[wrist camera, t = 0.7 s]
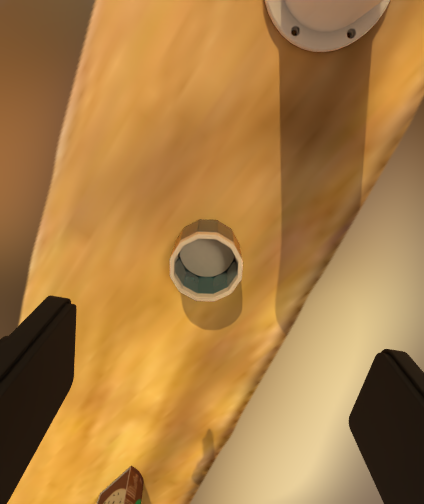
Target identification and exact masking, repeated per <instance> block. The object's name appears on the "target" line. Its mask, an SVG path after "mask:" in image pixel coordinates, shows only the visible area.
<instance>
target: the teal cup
mask: <svg viewBox="0 0 424 504" xmlns="http://www.w3.org/2000/svg"><path fill="white" fill-rule="evenodd" d="M179 255H180V256H179ZM242 269H243V259H242V255H241V250H240V246H239V242H238V240H237V238H236V237H235V235H234V233H233V231H232V229H231V228H229V227H227V226H226V225H224V224H222V223H221V222H219V221H218V220H201V219H200V220H197V221H195V222H193V223H192V224H190V225H188V226H186V227H184V228H183V230H182V232H181V233H180V235H179V236H178V238H177V240H176V242H175V245H174V248H173V251H172V254H171V257H170V278H171V279H172V281H173V282H174V284H175V286H176V287H177V289H178V290H179V292H181V293H182V294H184V295H186V296H188V297H190V298H191V299H193V300H196V301H217V300H219V299H221V298H223V297H225V296H227V295H230V294H231V293H232V292H233V290H234V289H235V288H236V286H237V285H238V284H239V282H240V281H241V279H242Z"/></svg>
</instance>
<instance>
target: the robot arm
mask: <svg viewBox="0 0 424 504" xmlns="http://www.w3.org/2000/svg"><path fill="white" fill-rule="evenodd" d="M264 1H265V4H266V7H267V11H268V14H269V16H270V18H271V20H272V22H273V24H274V26H275V27H276V28H277V29H278V31H279V32H280V33H281V35H282V36H283V37H285V38H286V39H287V40H288V41H289V42H290V43H292V44H294V45H296V46H297V47H299V48H301V49H305V50H308V51H312V52H328V51H334V50H338V49H340V48H343V47H345V46H348V45H349V44H351V43H353V42H355V41H356V40H358V39H359V38H360V37H362V36H363V35H364V34H366V33H367V32H368V31H369V30H370V29H371V28H372V27H373V26H374V25H375V24H376V23H377V21H378V20H379V19H380V17H381V16H382V14H383V13H384V11H385V10H386V8H387V6H388V4H389V2H390V0H264ZM292 31H295V32H296V35H295V36H293V35H292ZM347 33H349V34H350V38H348V37H347ZM75 333H76V305H75V304H71V301H70V299H68V298H62V297H56V296H48V297H47V298H46V299H45V300H44V301H43V302H42V303H41V304H40V305H39V306H38V307H37V308H36V309H35V310H34V311H33V312H32V313H31V314H30V315H29V316H28V317H27V318H26V319H25V320H24V321H23V322H22V323H21V324H20V325H19V326H18V327H17V328H16V329H15V330H14V331H13V333H11V334H10V335H9V336H5V337H3V338H2V339H0V504H7V502H8V501H9V499H10V497H11V495H12V494H13V492H14V490H15V488H16V486H17V485H18V483H19V481H20V479H21V477H22V475H23V474H24V472H25V470H26V468H27V466H28V465H29V463H30V461H31V459H32V457H33V455H34V454H35V452H36V450H37V448H38V446H39V444H40V443H41V441H42V439H43V437H44V435H45V434H46V432H47V430H48V428H49V426H50V424H51V423H52V421H53V419H54V417H55V415H56V414H57V412H58V410H59V408H60V406H61V404H62V403H63V401H64V399H65V397H66V395H67V394H68V392H69V390H70V388H71V385H72V382H73V378H74V357H75ZM349 427H350V429H351V432H352V434H353V436H354V439H355V441H356V443H357V445H358V447H359V450H360V452H361V454H362V456H363V458H364V460H365V463H366V465H367V467H368V469H369V471H370V474H371V476H372V478H373V480H374V482H375V485H376V487H377V489H378V491H379V494H380V496H381V498H382V500H383V502H384V504H424V372H423V371H422V370H421V369H420V368H419V367H418V365H416V363H415V362H414V361H413V360H412V359H411V357H410V356H409V355H408V354H407V353H405V352H403V351H396V350H390V349H384V350H383V351H382V352H381V353H378V354H377V355H376V356H375V359H374V361H373V363H372V366H371V368H370V370H369V373H368V375H367V377H366V379H365V382H364V384H363V386H362V388H361V391H360V393H359V396H358V398H357V400H356V403H355V405H354V407H353V409H352V412H351V414H350V416H349Z"/></svg>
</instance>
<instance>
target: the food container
mask: <svg viewBox="0 0 424 504" xmlns="http://www.w3.org/2000/svg"><path fill="white" fill-rule="evenodd" d="M142 490H143V478H142V476H141V474H140V473H139V471H138V470H137V469H135V468H134V467H132V466H130V467H129V468H128V469H127V470H126V471H125V472H124V473H122V474H121V475H120V476H119V477H118V478H117V479H116V480H115V481H113V482H112V483H111V484H110V485H109V486H108V487H107V488H106V489H105V490H103V491H102V492H101V493H100V495H99V498H98V501H97V504H141V499H142Z"/></svg>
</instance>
